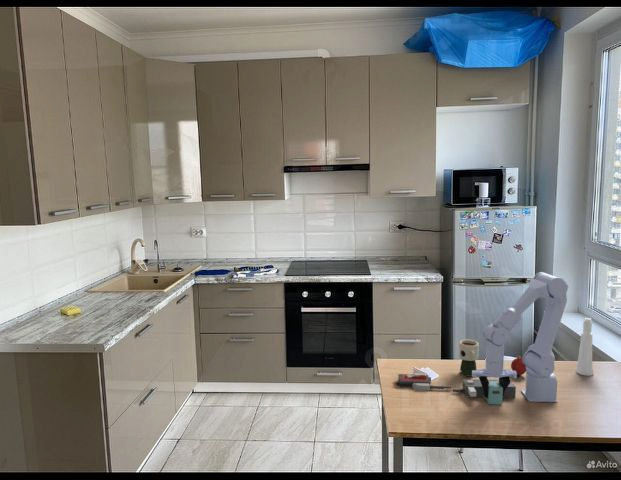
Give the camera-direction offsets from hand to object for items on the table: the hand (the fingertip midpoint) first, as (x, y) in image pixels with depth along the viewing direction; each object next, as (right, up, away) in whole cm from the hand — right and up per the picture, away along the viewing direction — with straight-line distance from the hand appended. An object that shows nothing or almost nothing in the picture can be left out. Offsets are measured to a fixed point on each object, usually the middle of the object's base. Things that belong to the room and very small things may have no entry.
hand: (493, 396), depth 161 cm
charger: (0, -2, 0) cm, 2 cm away
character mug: (-1, +1, +22) cm, 22 cm away
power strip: (-2, -1, +6) cm, 6 cm away
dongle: (-7, 0, +2) cm, 7 cm away
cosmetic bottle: (+44, +2, +20) cm, 48 cm away
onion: (+18, +2, +19) cm, 26 cm away
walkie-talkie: (-21, -1, +14) cm, 25 cm away
